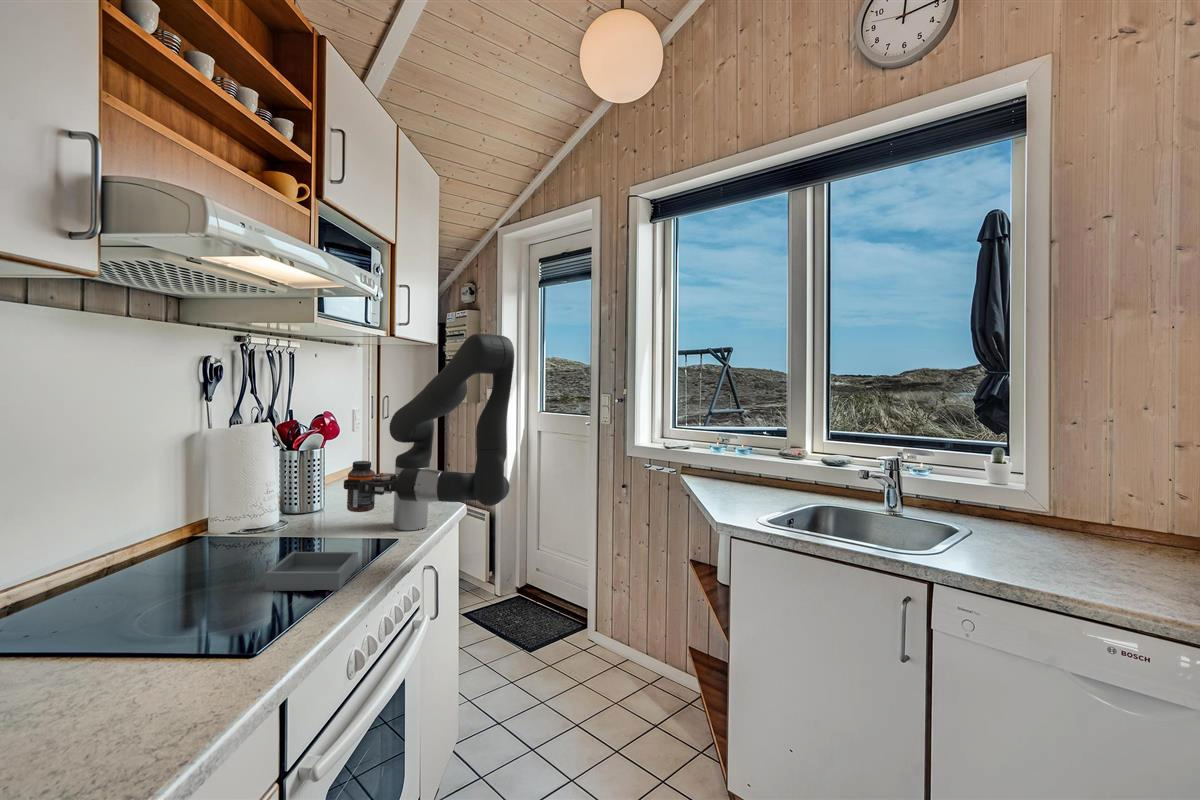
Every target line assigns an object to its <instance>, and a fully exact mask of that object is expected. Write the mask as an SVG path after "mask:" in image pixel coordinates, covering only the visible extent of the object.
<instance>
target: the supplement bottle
mask: <svg viewBox="0 0 1200 800" xmlns="http://www.w3.org/2000/svg"><path fill="white" fill-rule="evenodd" d="M375 474H376V472H375V471H374V470H372V461H369V460H356V461H353V462H352V469H351V470H350V471H349V472H348V473H347V479H351V480H370V479H371V478H373V477H375ZM365 488H368V485H365ZM375 497H376V494H365V493H359V490H347V495H346V498H347V499H346V507H347V511H349V512H352V513H366V512H370V511H373V510H374V508H375V503H376V502H375V501H376V500H375V499H376V498H375Z"/></svg>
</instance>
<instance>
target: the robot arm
mask: <svg viewBox="0 0 1200 800" xmlns="http://www.w3.org/2000/svg"><path fill="white" fill-rule="evenodd" d="M514 365H515V348H514V345H513V342H512V341H511V339H510V338H509V337H507V336H504V335H500V334H499V335H498V334H490V333H473V334H471V335H470V336H468V337H467V338H466V339H465V340H464V341H463V343H461V345H460V347H459V348H458V350H457V351H456V352H455V354H454V355H453V357H452V358H451V359H450V360H449V361H448V362H447V364H446V365H445V366H444V367H443V368H442V369H441V371H440V372H438V374H437V375H435V376H434V377H433V378H432V379H431V380H430V381H429V382H428V383H427V384H426V385H425V387H424V388H423V389H422V390H421V391H420V392H419V393H418V394H417V395H416V396H415V397H414V398H412V399H411V400H410V401H409V402H408V403H406V404H404V405H403V406H402V407H401V408H399V409H398V410H397V411H396V412H394V414H393V415H392V416H391V420H390V422H389V434H390V436H391V438H392V439H393V440H394V441H395V442H398V443H405V444H406V443H413V445H412V447H410V448H409V449H408V450H407V451H405V452H403V453H401V454H398V455H397V456H396V457H395V460H394V461H395V463H394V465H395V466H394V473H387V472H386V473H384V472H380V473H379V474H377V473H375V477H373V478H371V479H370V480H351V479H348V478H347V479H344V480H343V489H344V490H346V491H348V490H359V493H365V494H375V495H377V496H378V495H379V496H383V495H385V494H386V495H391V494H392V493H393V492H394V495H393V517H392V521H393V522H392V528H393V529H395V530H398V531H417V530H418V529H419V530H422V528H423V529H425V527H426V526H427V527H428V516H429V515H428V514H429V503H437V502H441V503H443V502H445V503H447V502H448V503H460V502H461V503H462V502H466V501H477V502H479V503H480V504H481V505H483V506H487V507H493V506H495V505H497V504H499V503H500V502H502V501H503V500H505V498H506V497H507V496H508V495H509V492H510V482H509V480H508V479H507V477H506V476H505V461H506V458H507V452H508V448H507V447H508V442H507V441H508V437H507V434H508V433H507V431H508V430H507V428H508V427H507V423H508V421H507V420H508V409H509V403H510V395H511V391H512V382H513V374H514V368H515V367H514ZM478 374H487V375H492V388H491V392H490V395H489V398H488V399H487V402H486V404H485V406H484V408H483V410H482V412H481V414H480V416H479V418H478V421H477V424H476V429H475V447H476V450H475V451H476V453H475V454H476V463H475V467H474V472H459V471H448V470H447V471H443V470H437V469H430V466H431V465H430V464H431V458H432V455H433V453H432V452H433V442H434V433H435V430H434V429H435V422H434V420H435V419H438V418H440V417H441V418H442V417H444V416H445V415H448V414H449V413H451V412H452V411H454V410H455V409H456V408H457V407H458V406H459V405H460V404H461V403H462V402H463V401H465V398H466V397H467V393H468V383H467V380H469V378H471V377H473V376H474V375H478ZM365 485H368V488H365ZM427 527H426V528H427Z"/></svg>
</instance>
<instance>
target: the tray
mask: <svg viewBox="0 0 1200 800" xmlns="http://www.w3.org/2000/svg"><path fill="white" fill-rule="evenodd" d="M358 560H359V552H358V551H291V552H290V553H289V554H287V556H285V557H284V558H282V560H280V561H278V562H277V563H276V564H275V565H274V566H272V567H271V568H270V569H269V570H268V571H266V572H265V576H264V577H265V578H264V581H265V582H264V591H265V592H269V591H270V592H274V591H275V592H278V591H279V592H281V591H282V592H284V591H287V592H288V591H289V592H290V591H291V592H294V591H296V592H297V591H299V592H301V591H303V592H304V591H305V592H307V591H311V592H312V591H313V592H314V590H329V591H340V590H341V588H342V587H343V586H344V585H345V584H344V583H346V582H347V581H348V580H349V579H350V577H351V576H352V575H353V574H354V573H355V571H356V570H357V569H358V565H359V564H358V562H359V561H358ZM356 568H357V569H356ZM355 569H356V570H355ZM354 570H355V571H354ZM353 572H354V573H353ZM352 573H353V574H352ZM351 574H352V575H351ZM350 575H351V576H350ZM348 578H349V579H348ZM347 579H348V580H347ZM346 580H347V581H346ZM345 581H346V582H345ZM343 584H344V585H343ZM342 585H343V586H342ZM341 586H342V587H341ZM339 589H340V590H339Z"/></svg>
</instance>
